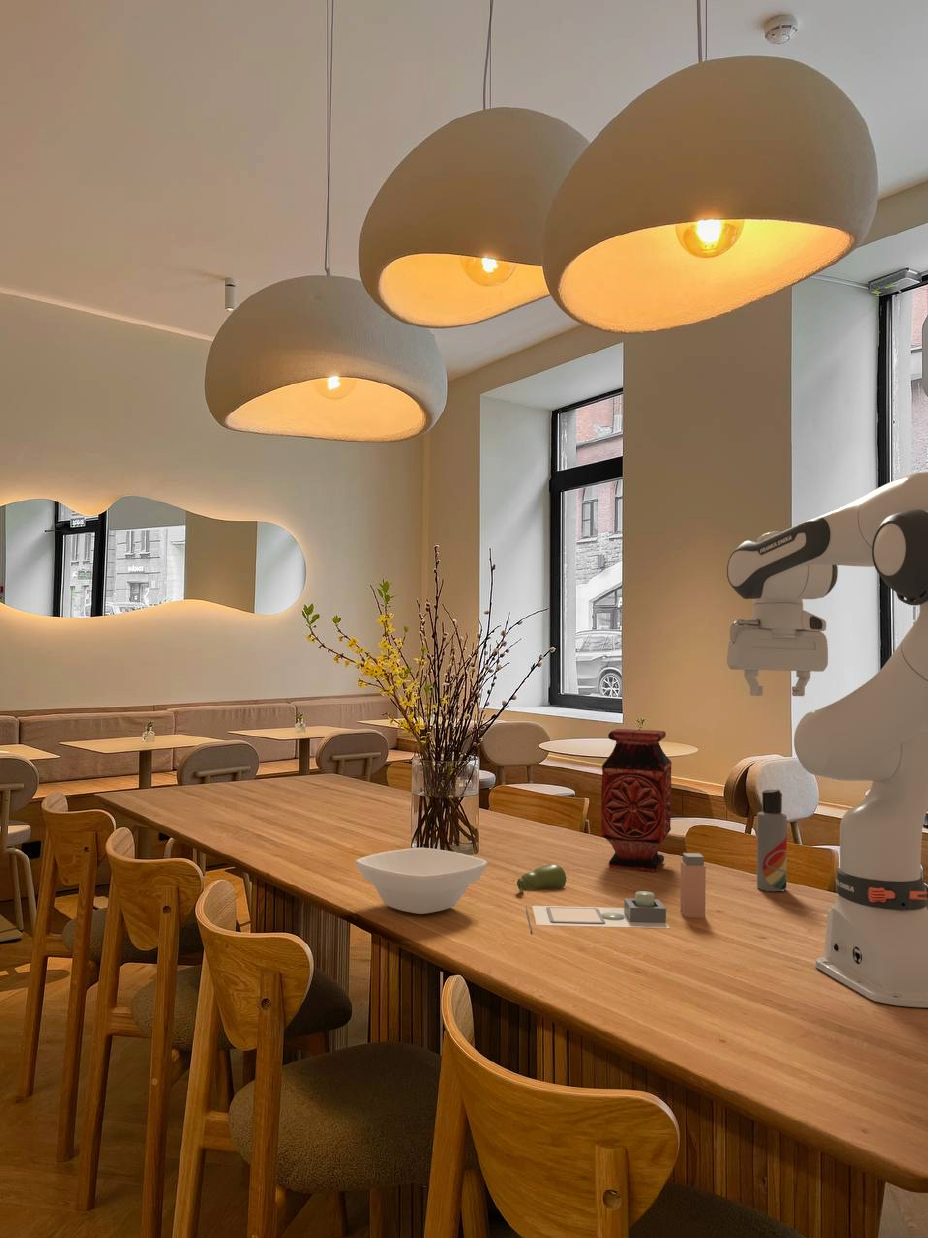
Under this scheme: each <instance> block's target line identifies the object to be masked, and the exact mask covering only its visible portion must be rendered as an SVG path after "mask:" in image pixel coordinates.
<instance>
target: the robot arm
mask: <svg viewBox="0 0 928 1238" xmlns="http://www.w3.org/2000/svg"><path fill="white" fill-rule="evenodd" d="M838 566H845V567H846V566H848V567H867V568H869V567H871V568H873V567H874V568H875V570H876V572H877V573H878V575H879V577H880V578H881V580H883V582H884V584H885V585H886V586H887V587H888V589H891V590H892V591H894V592H895V594H896V597H897V599H898V600H899V601H901V602H902V603H904V604H906V605H909V606H919V614H918V616H917V619H916V620H915V622H914V623H913V625H912V626H911V627H910V629H909V630H908V632H907V633H906V634H905V636H904V637H903V639H902V640H901V642H900V643H899V644H898V646H897V647H896V649H895V650H894V651H893V653H892V654H891V656H890V657H889V658H888V660H886V662H885V664H884V665H883V666H882V668H880V670H879V671H878V672H877V673H876V674H875V675H874V676H872V677H871V678H870V679H869V680H868V681H866V682H865V683H863V684H861V686H859V687H857V688H856V689H854V690H853V691H852V692H850V693H849V694H847V695H846V696H844V697H842V698H840V699H839V700H836V701H835V702H833V703H831V704H829V705H826V706H824V707H820V708H818V709H814V710H813V711H809V712H807V713H805V715H803V716H802V718H801V719H800V720H799V722H798V724H797V726H796V728H795V731H794V737H793V747H794V751H795V752H794V753H795V755H796V758H797V759H798V761H799V763H800V764H801V766H802V767H803V768H804V770H806V772H808V773H809V774H811V775H813V776H814V775H815V776H818V777H822V778H827V779H830V780H831V779H832V780H837V781H845V782H847V781H855V782H856V781H858V782H859V781H860V782H861V781H862V782H863V781H865V782H869V781H870V782H872V783H871V787H870V790H869V791H868V793H867V795H866V796H865V798H864V799H863V800H862V801H861V802H860V803H858V804H856V805H855V806H853V807H851V808H850V809H848V810H847V811H846V812H845V813H844V815H843V816H842V818H841V820H840V824H839V868H837V870H836V877H835V884H836V890H835V891H836V894H837V895H838V897H837V898H836V901H835V903H834V904H833V906H831V908H829V910H828V911H827V915H826V916H827V917H826V927H825V941H824V955H823V956H821V957H817V958H816V960H815V967H816V969H818V970H819V971H822V973H825V974H826V975H828V976H830V977H832V978H833V979H835V980H837V981H838V982H839V983H842V984H843V985H845V986H847V987H848V988H851V989H853V990H854V991H856V993H857V992H858V993H859V994H860V995H863V996H864V997H865V998H867V999H869V1000H871V1001H873V1002H877V1003H882V1004H887V1005H894V1006H898V1007H899V1006H900V1007H901V1006H902V1007H912V1008H928V896H927V895H928V891H927V887H926V886H925V880H924V878H923V877H922V876H921V873H922V872H921V868H922V864H921V863H922V862H921V861H922V860H921V859H922V838H923V828H924V822H925V819H926V816H927V812H928V471H924V472H923V471H922V472H915V473H913V474H912V473H911V474H909V475H906V476H905V475H904V476H902V477H899V478H896V479H895V480H891V481H889V482H887V483H886V484H883V485H882V486H880V487H877V488H875V489H874V490H873V491H871V492H869V493H867V494H865V495H864V496H862V497H860V498H858V499H856V500H854V501H853V502H850V503H848V504H846V505H844V506H842V507H839V508H837V509H834V510H833V511H830V512H827V513H825V514H822V515H820V516H818V517H814V518H812V519H809V520H807V521H805V522H801V523H799V524H796V525H794V526H792V527H789V528H788V529H785V530H783V529H782V530H774V531H769V532H765V533H763V534H762V535H760V536H759V537H757V540H756V541H753V540H745V541H743V542H742V543H741V544H740V545H738V547H736V549H735V550H733V552H732V553H731V554H730V556H729V559H728V561H727V565H726V576H727V581H728V583H729V585H730V586H731V588H732V589H733V590H734V591H735V592H736V593H737V594H738V596H740V597H741V598H742V599H744V600H752V619H751V618H750V619H745V618H738V619H736V620H735V621H734V622H733V623H731V624H730V627H729V640H728V645H727V646H728V647H727V656H726V664H727V666H728V667H729V670H734V671H737V670H738V671H744V678H745V680H746V682H747V684H748V686H749V695H750V696H752V697H758V696H759V697H762V696H763V694H764V692H763V690H764V686H763V685H759V682H758V679H757V677H758V676H759V671H774V672H775V671H776V672H777V671H778V672H779V671H780V672H781V671H782V672H783V671H784V672H786V671H787V672H796V676H795V677H796V678H798V679H797V681H796V683H795V686H791V691H792V692H791V695H792V697H805V695H806V686H807V685H808V683H809V681H810V680H811V679H810V678H811V672H813V673H814V672H818V673H819V672H824V671H825V670H826V669H827V667H828V663H829V647H828V640H827V639H828V638H827V636H826V635H825V633H824V632H825V631H826V630H827V621H826V620H825V619H824V618H821V617H819V616H817V615H815V614H812V613H810V612H809V611H808V610H804V602H803V600H816V599H817V600H818V599H822V598H824V597H826V596H827V595H828V594H829V593H830V592H831V591H832V590H833V589H834V588H835V585H836V584H837V581H838V576H839V575H838V573H839V571H838V570H839V569H838Z"/></svg>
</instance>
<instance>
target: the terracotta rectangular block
mask: <svg viewBox="0 0 928 1238" xmlns="http://www.w3.org/2000/svg"><path fill="white" fill-rule="evenodd" d="M706 868H707V867H706V865H705V857H704V856H703V854H701V852H699V853H695V852H693V853H692V852H682V860H681V861H680V906H679V907H680V909H679V911H680V913H681V914H682V915H683V917H685V918H706V884H707V883H706V880H707V879H706V878H707V876H706V874H707V872H706V871H707V870H706Z"/></svg>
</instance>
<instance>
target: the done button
mask: <svg viewBox="0 0 928 1238" xmlns="http://www.w3.org/2000/svg"><path fill="white" fill-rule="evenodd" d="M634 895H635V898H634V899H635V906H642V907H654V899H655V893H654V892H651V891H647V890H646V891H645V890H644V891H642V890H641V891H636V892H635V894H634Z"/></svg>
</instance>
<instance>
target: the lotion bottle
mask: <svg viewBox="0 0 928 1238" xmlns="http://www.w3.org/2000/svg"><path fill="white" fill-rule="evenodd" d="M761 794H762V795H761V797H762V798H761V800H762V801H761V804H762V808H761V809H762V811H759V812H757V814H756V815H757V817H756V818H757V819H756V835H757V836H756V887H757V889H758V888H759V889H758V890H760V889H762V890H761V891H763V890H767V891H766V892H769V891H782V890H785V891H786V890H787V876H788V875H787V859H788V857H787V856H788V855H787V853H788V852H787V849H788V847H787V845H788V842H787V841H788V839H787V835H788V833H787V832H788V831H787V829H788V828H787V826H788V825H787V823H788V822H787V821H788V819H787V818H788V817H787V814H785V813H783V810H782V809H783V808H782V807H783V796H782V795H783V793H782V792H781V790H780V789H766V790H763V791H762V792H761Z"/></svg>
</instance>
